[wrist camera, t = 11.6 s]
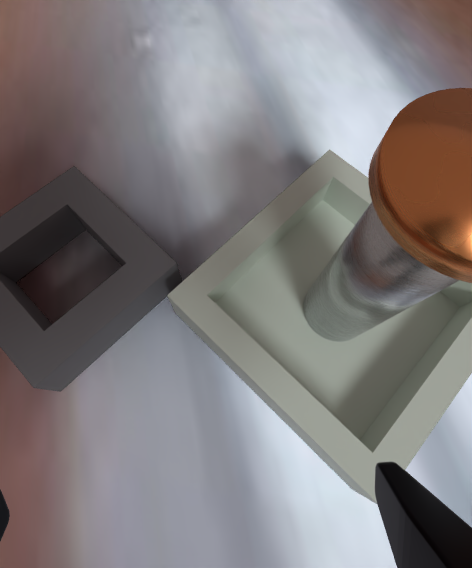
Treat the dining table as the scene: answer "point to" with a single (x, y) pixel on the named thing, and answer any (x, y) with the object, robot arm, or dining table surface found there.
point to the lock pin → (404, 222)
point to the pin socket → (95, 306)
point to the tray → (317, 350)
